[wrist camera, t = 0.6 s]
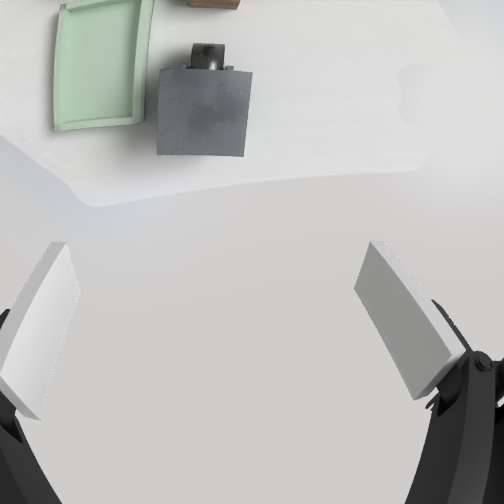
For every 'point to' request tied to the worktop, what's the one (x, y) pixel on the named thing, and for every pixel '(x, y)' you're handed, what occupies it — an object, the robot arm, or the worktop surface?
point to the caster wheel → (203, 106)
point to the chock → (215, 3)
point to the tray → (101, 63)
